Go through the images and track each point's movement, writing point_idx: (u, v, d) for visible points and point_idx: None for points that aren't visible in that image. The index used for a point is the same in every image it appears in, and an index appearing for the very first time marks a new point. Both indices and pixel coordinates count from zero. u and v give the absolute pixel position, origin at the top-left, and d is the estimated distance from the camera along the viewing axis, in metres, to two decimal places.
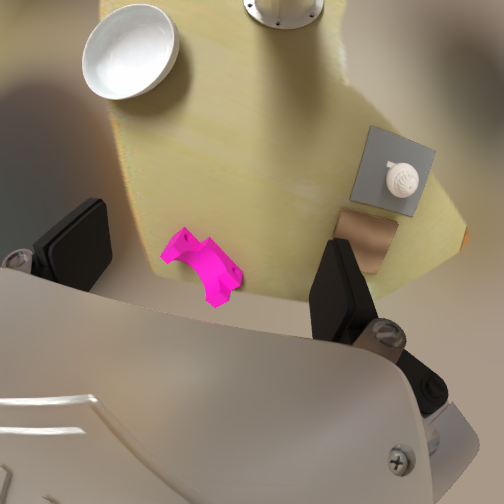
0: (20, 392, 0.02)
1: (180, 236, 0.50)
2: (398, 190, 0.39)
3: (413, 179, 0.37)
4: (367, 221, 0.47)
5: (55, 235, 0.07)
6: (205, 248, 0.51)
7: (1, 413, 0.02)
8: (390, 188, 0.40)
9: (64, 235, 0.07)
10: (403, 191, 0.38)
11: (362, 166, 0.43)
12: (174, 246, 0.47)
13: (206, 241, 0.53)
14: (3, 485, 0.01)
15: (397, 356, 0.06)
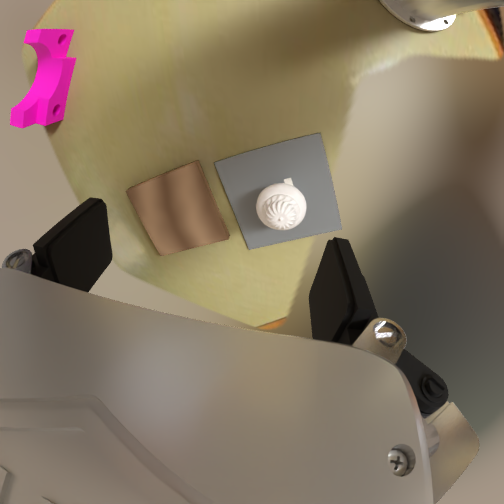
0: (20, 392, 0.02)
1: (59, 30, 0.20)
2: (265, 208, 0.32)
3: (292, 217, 0.31)
4: (204, 200, 0.37)
5: (55, 235, 0.07)
6: (59, 61, 0.23)
7: (1, 413, 0.02)
8: (260, 197, 0.32)
9: (64, 235, 0.07)
10: (269, 214, 0.31)
11: (263, 150, 0.33)
12: (42, 30, 0.17)
13: (69, 58, 0.25)
14: (3, 485, 0.01)
15: (397, 356, 0.06)
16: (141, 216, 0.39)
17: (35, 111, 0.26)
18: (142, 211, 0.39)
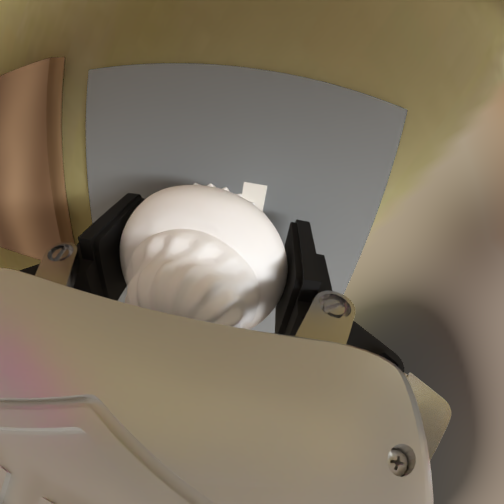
0: (20, 392, 0.02)
1: None
2: (137, 264, 0.07)
3: None
4: (37, 159, 0.10)
5: (101, 228, 0.08)
6: None
7: (1, 413, 0.02)
8: (139, 214, 0.08)
9: (110, 228, 0.08)
10: (135, 300, 0.07)
11: (226, 74, 0.09)
12: None
13: None
14: (3, 485, 0.01)
15: (349, 325, 0.07)
16: None
17: None
18: None
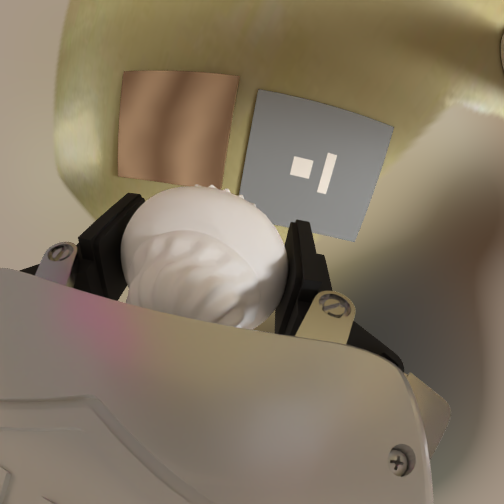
0: (20, 392, 0.02)
1: None
2: (138, 265, 0.08)
3: None
4: (220, 127, 0.24)
5: (101, 228, 0.08)
6: None
7: (1, 413, 0.02)
8: (141, 216, 0.08)
9: (110, 228, 0.08)
10: (136, 302, 0.07)
11: (325, 108, 0.23)
12: None
13: None
14: (3, 485, 0.01)
15: (349, 325, 0.07)
16: (123, 112, 0.24)
17: None
18: (128, 106, 0.23)
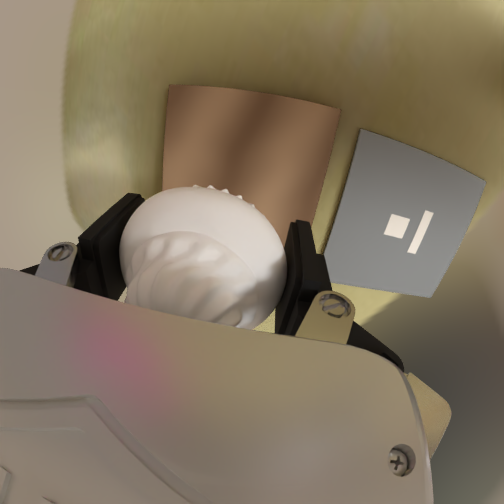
0: (20, 392, 0.02)
1: None
2: (136, 266, 0.07)
3: None
4: (313, 176, 0.19)
5: (101, 228, 0.08)
6: None
7: (1, 413, 0.02)
8: (139, 216, 0.08)
9: (110, 228, 0.08)
10: (134, 302, 0.07)
11: (430, 159, 0.18)
12: None
13: None
14: (3, 485, 0.01)
15: (349, 325, 0.07)
16: (169, 144, 0.19)
17: None
18: (178, 136, 0.18)
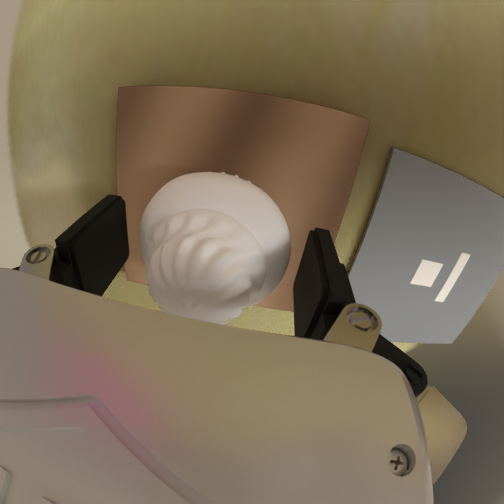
0: (20, 392, 0.02)
1: None
2: (158, 239, 0.09)
3: (233, 310, 0.09)
4: (325, 217, 0.13)
5: (77, 231, 0.08)
6: None
7: (1, 413, 0.02)
8: (161, 197, 0.09)
9: (87, 231, 0.08)
10: (157, 270, 0.08)
11: (475, 189, 0.12)
12: None
13: None
14: (3, 485, 0.01)
15: (374, 339, 0.06)
16: (123, 172, 0.13)
17: None
18: (133, 161, 0.13)
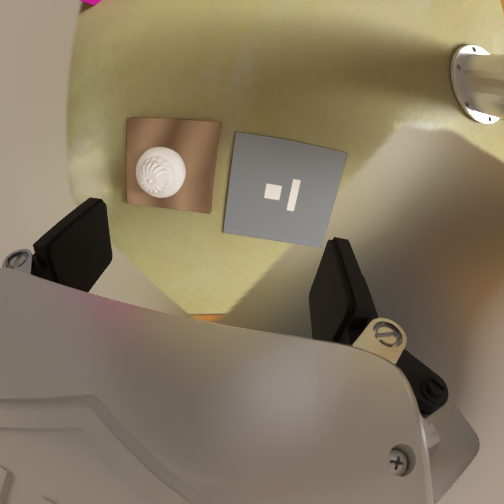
0: (20, 392, 0.02)
1: None
2: (142, 165, 0.27)
3: (162, 183, 0.27)
4: (207, 164, 0.32)
5: (55, 235, 0.07)
6: None
7: (1, 413, 0.02)
8: (143, 154, 0.28)
9: (64, 235, 0.07)
10: (141, 172, 0.27)
11: (289, 143, 0.32)
12: None
13: None
14: (3, 485, 0.01)
15: (397, 356, 0.06)
16: (129, 152, 0.32)
17: None
18: (133, 147, 0.31)
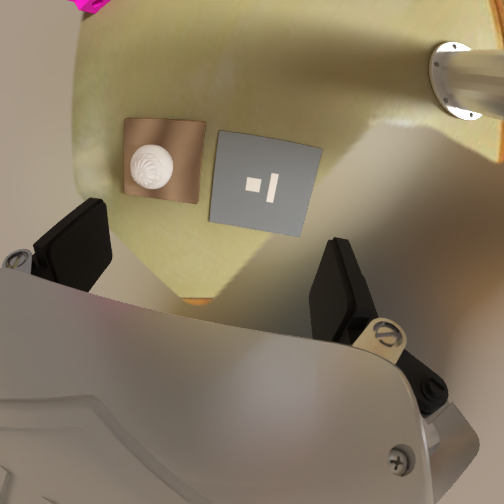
0: (20, 392, 0.02)
1: None
2: (135, 161, 0.31)
3: (151, 176, 0.31)
4: (193, 159, 0.36)
5: (55, 235, 0.07)
6: None
7: (1, 413, 0.02)
8: (136, 151, 0.31)
9: (64, 235, 0.07)
10: (133, 166, 0.30)
11: (267, 140, 0.35)
12: None
13: None
14: (3, 485, 0.01)
15: (397, 356, 0.06)
16: (126, 148, 0.35)
17: None
18: (130, 144, 0.35)
